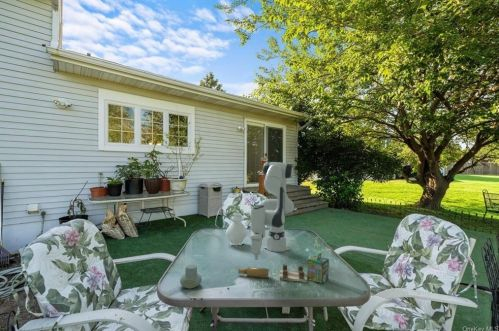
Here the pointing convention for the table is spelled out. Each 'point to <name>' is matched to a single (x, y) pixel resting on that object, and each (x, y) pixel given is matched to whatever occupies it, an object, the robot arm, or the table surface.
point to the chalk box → (318, 268)
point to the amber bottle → (255, 272)
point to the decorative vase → (236, 230)
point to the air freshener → (190, 277)
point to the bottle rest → (293, 274)
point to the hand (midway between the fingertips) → (257, 257)
